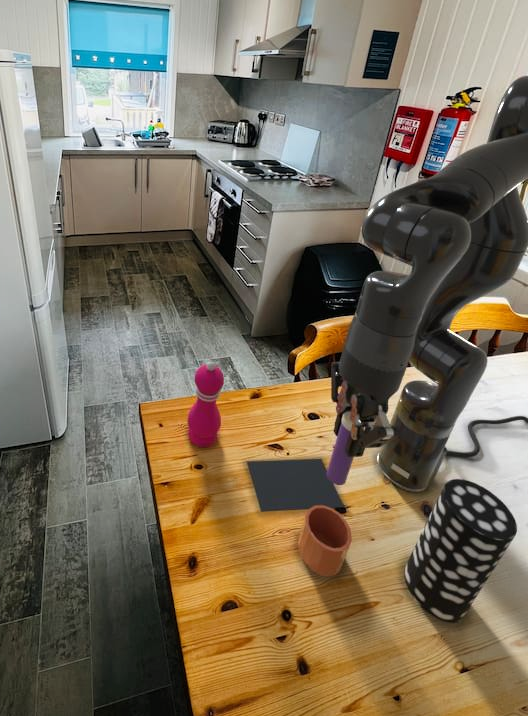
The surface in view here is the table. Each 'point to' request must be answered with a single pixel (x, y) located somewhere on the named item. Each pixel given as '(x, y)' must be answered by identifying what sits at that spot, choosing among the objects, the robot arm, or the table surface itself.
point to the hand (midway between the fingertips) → (346, 443)
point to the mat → (292, 484)
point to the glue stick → (341, 453)
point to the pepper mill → (206, 406)
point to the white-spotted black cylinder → (458, 549)
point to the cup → (324, 540)
